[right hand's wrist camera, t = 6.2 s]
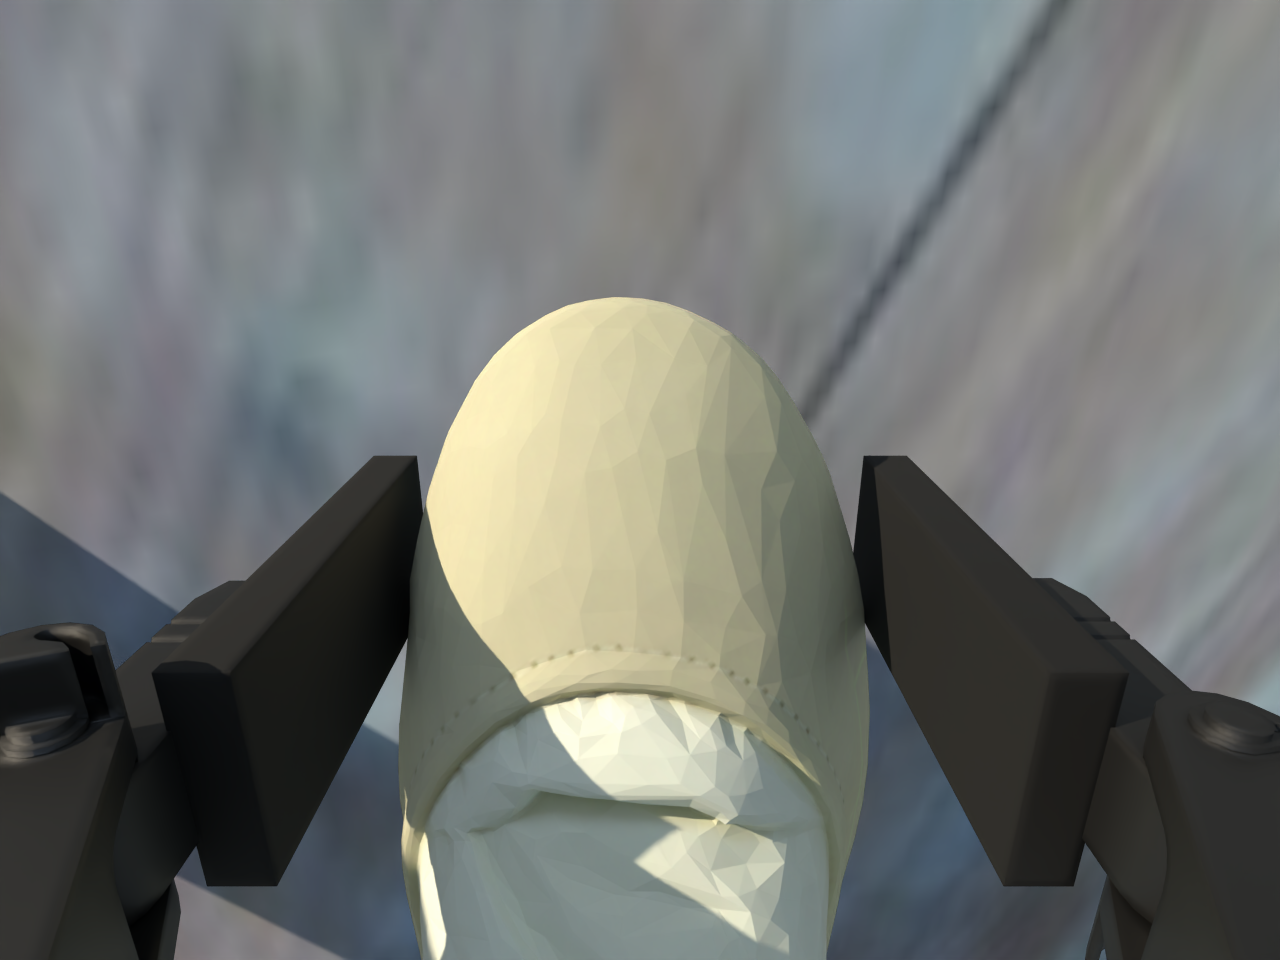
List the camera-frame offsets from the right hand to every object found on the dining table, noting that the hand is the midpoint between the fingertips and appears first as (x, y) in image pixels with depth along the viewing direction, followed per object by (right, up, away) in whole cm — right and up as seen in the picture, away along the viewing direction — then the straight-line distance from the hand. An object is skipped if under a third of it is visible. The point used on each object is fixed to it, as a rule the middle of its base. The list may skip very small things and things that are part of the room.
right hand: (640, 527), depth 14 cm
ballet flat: (0, -7, +3) cm, 8 cm away
